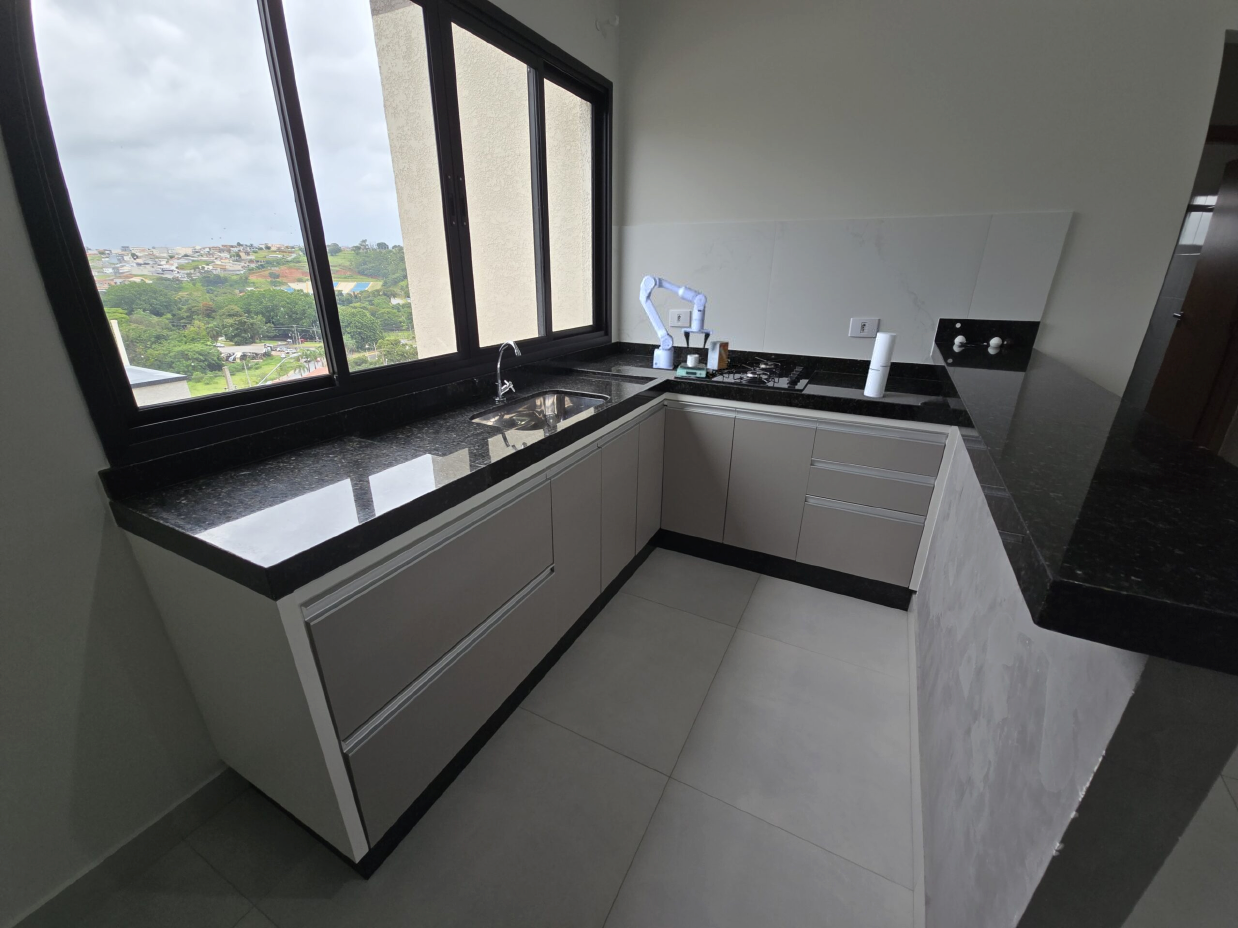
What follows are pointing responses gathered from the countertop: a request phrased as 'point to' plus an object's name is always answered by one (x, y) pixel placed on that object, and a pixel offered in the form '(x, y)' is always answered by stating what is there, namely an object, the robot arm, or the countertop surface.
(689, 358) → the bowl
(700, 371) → the scale
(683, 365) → the scale pan
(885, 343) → the cylindrical container
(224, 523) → the countertop surface
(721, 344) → the small box
